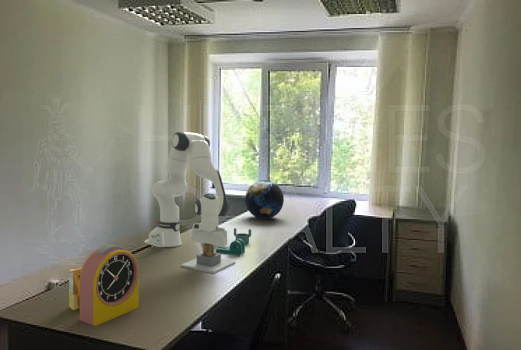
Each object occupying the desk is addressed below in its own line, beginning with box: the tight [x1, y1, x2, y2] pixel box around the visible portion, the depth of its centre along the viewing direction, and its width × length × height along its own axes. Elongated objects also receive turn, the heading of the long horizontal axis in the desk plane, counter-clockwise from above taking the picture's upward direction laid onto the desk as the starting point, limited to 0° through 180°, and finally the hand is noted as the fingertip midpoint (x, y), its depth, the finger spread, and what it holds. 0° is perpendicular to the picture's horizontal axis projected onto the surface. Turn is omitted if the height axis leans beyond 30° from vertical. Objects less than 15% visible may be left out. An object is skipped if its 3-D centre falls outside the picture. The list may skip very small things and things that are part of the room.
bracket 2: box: [233, 227, 252, 246], centre depth 283 cm, size 9×9×9 cm
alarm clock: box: [79, 244, 140, 327], centre depth 174 cm, size 21×9×26 cm, turn 148°
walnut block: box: [202, 244, 215, 257], centre depth 237 cm, size 4×4×8 cm
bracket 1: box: [216, 238, 246, 256], centre depth 263 cm, size 18×7×8 cm, turn 73°
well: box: [180, 252, 236, 275], centre depth 238 cm, size 20×20×6 cm
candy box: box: [68, 266, 83, 311], centre depth 180 cm, size 9×4×15 cm, turn 137°
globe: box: [244, 179, 285, 220], centre depth 356 cm, size 30×30×30 cm
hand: (209, 252), depth 238 cm, fingers closed on walnut block, 4 cm apart
